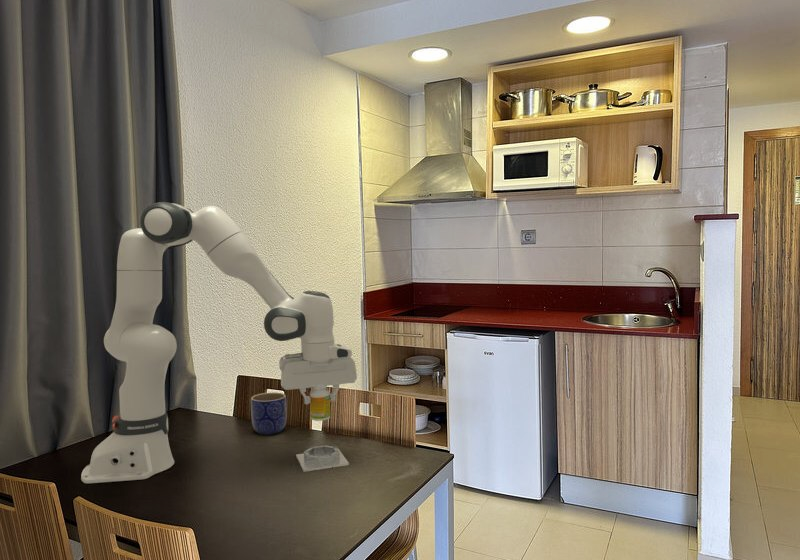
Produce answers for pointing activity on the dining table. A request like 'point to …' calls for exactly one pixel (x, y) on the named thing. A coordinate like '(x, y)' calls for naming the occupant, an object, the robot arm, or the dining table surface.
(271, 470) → the dining table surface
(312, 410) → the supplement bottle
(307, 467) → the glass ashtray
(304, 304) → the robot arm
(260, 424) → the planter
